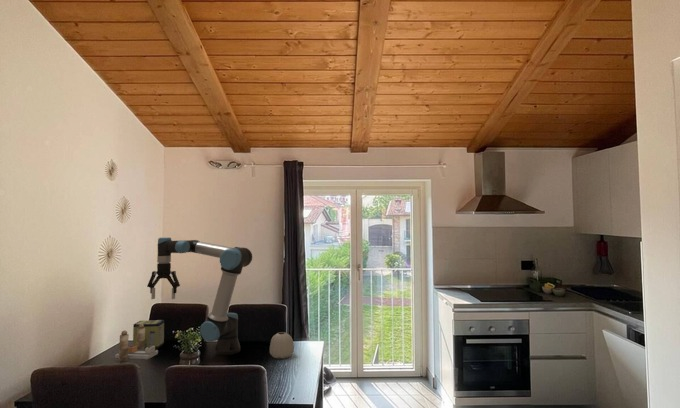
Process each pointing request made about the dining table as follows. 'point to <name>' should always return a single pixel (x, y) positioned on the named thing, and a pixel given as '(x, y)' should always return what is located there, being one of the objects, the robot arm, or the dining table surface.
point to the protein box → (151, 333)
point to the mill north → (123, 346)
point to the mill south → (141, 337)
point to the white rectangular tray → (140, 354)
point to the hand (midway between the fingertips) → (163, 298)
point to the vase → (281, 345)
